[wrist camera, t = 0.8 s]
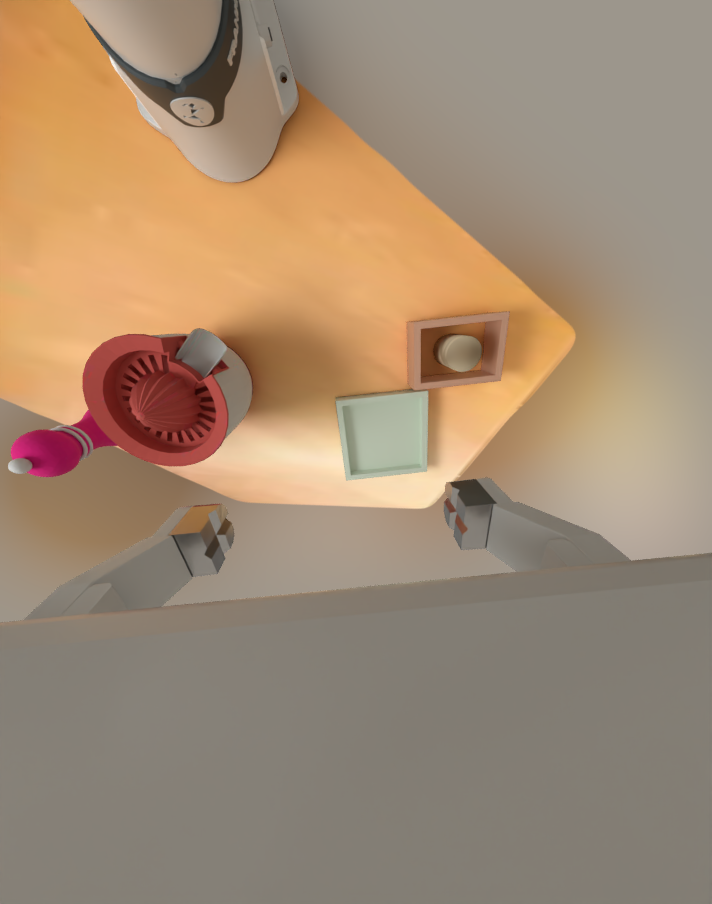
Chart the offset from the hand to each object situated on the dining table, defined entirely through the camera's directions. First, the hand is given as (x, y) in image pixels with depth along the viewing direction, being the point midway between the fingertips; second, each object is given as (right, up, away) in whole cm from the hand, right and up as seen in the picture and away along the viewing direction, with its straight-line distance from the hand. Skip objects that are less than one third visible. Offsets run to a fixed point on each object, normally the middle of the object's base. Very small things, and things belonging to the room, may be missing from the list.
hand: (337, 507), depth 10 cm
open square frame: (+16, +19, +36) cm, 44 cm away
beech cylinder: (+16, +19, +36) cm, 44 cm away
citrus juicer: (-22, +15, +37) cm, 46 cm away
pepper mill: (-39, +9, +39) cm, 56 cm away
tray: (+6, +6, +42) cm, 43 cm away
